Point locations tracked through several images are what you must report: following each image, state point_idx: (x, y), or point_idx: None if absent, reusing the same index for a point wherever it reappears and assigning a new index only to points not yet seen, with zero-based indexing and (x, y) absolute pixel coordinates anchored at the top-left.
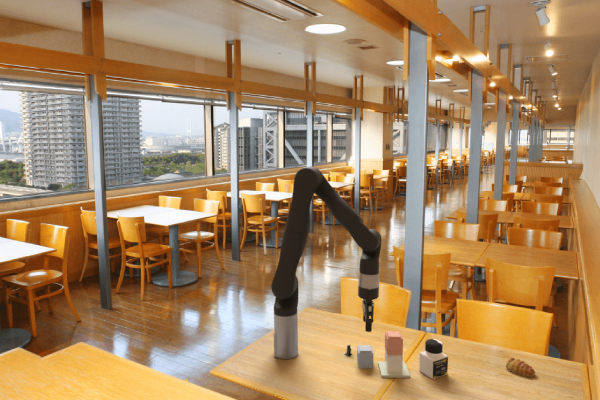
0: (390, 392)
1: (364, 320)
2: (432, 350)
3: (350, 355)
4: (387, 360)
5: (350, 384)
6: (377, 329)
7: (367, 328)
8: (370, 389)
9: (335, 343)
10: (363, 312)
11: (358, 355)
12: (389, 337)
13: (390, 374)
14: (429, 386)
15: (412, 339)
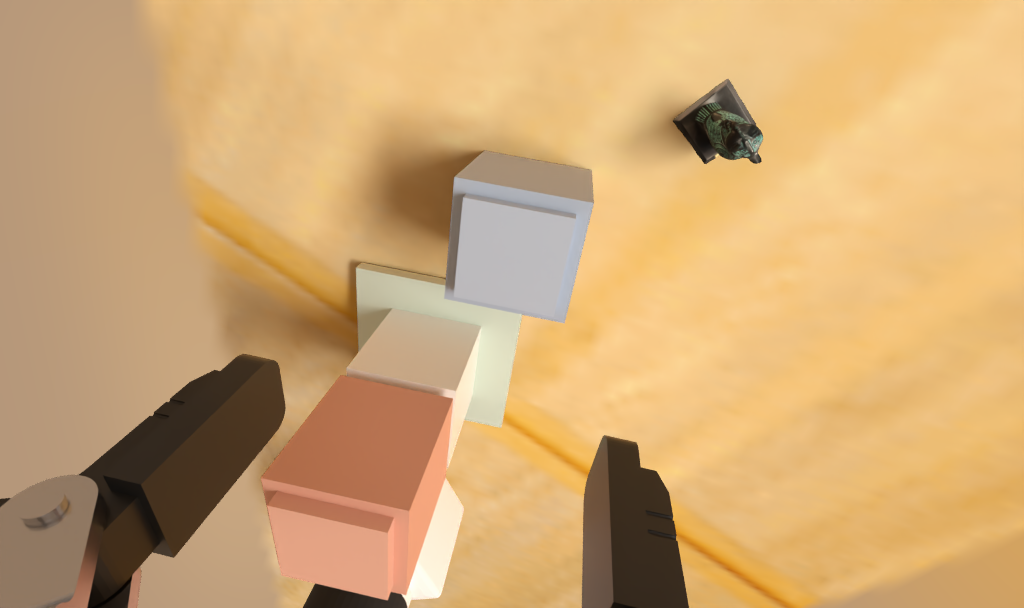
0: (219, 256)
1: (601, 459)
2: (309, 596)
3: (688, 138)
4: (359, 351)
5: (266, 28)
6: (1016, 450)
7: (172, 403)
8: (228, 156)
9: (997, 42)
10: (615, 602)
11: (461, 172)
12: (274, 503)
13: (368, 316)
14: (297, 428)
15: (754, 545)
